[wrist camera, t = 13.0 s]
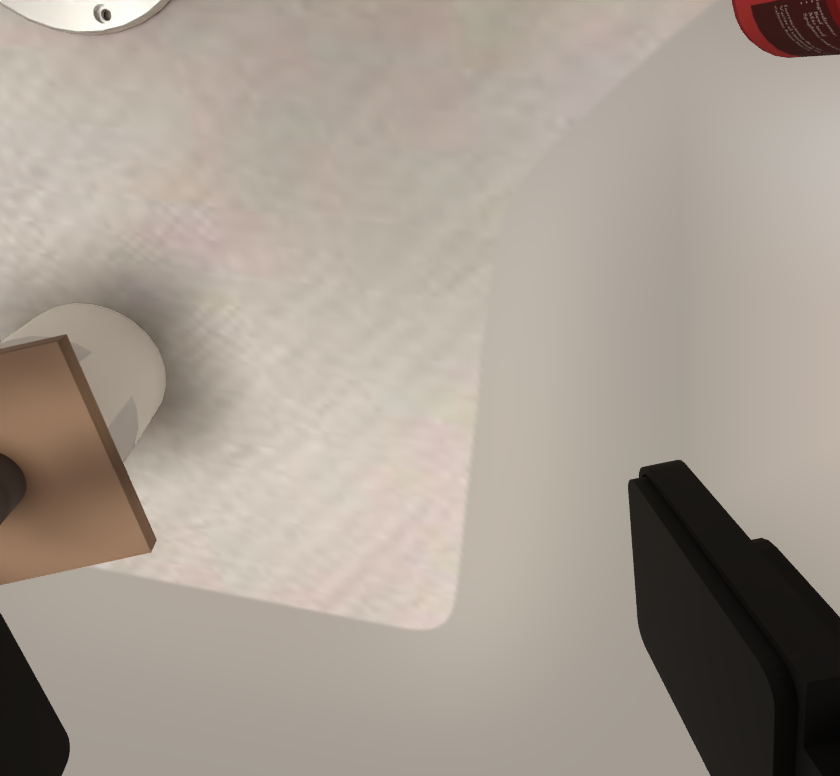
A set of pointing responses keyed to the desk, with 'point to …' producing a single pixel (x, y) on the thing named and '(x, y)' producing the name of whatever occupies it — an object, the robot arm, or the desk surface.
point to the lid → (59, 469)
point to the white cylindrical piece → (107, 364)
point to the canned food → (791, 26)
